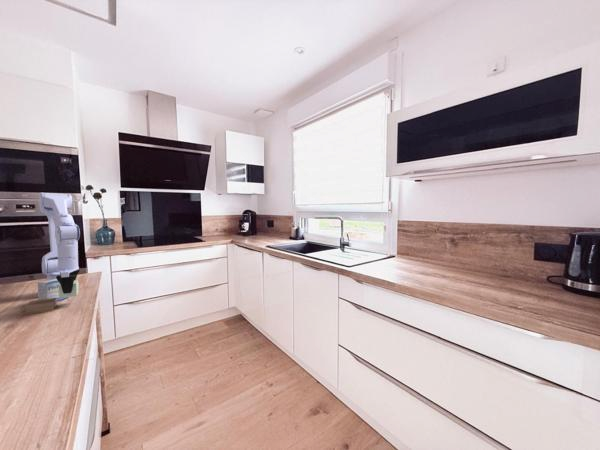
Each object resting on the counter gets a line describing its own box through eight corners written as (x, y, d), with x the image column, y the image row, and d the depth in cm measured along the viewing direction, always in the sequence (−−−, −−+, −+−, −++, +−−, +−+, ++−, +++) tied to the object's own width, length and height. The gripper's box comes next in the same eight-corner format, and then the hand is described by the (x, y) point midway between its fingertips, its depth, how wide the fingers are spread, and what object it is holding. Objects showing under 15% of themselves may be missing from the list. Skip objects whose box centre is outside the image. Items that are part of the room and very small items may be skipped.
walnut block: (30, 308, 91) (30, 301, 91) (56, 304, 96) (56, 297, 96) (25, 315, 86) (25, 307, 86) (53, 310, 90) (53, 303, 90)
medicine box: (46, 304, 94) (46, 283, 94) (38, 303, 95) (37, 282, 95) (69, 297, 102) (69, 277, 102) (61, 296, 103) (60, 276, 103)
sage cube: (61, 294, 96) (61, 281, 95) (78, 292, 98) (78, 280, 98) (58, 298, 92) (58, 285, 91) (76, 295, 94) (76, 283, 94)
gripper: (57, 254, 97) (58, 287, 98) (48, 261, 86) (50, 298, 87) (81, 252, 102) (81, 284, 103) (75, 259, 90) (76, 295, 91)
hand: (68, 290), depth 95 cm, fingers closed on sage cube, 5 cm apart
